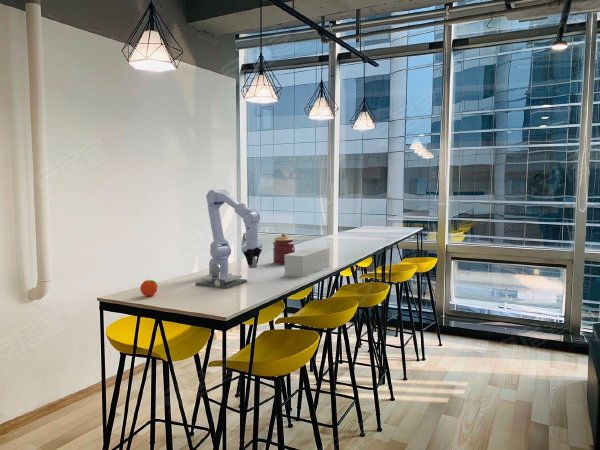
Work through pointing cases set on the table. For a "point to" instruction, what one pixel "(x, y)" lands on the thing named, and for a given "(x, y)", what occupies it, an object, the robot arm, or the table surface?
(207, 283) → the scale
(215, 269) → the spacer
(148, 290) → the clementine
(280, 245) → the canister
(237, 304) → the table surface
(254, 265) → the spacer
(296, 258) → the light grey rectangular block
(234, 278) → the pan
